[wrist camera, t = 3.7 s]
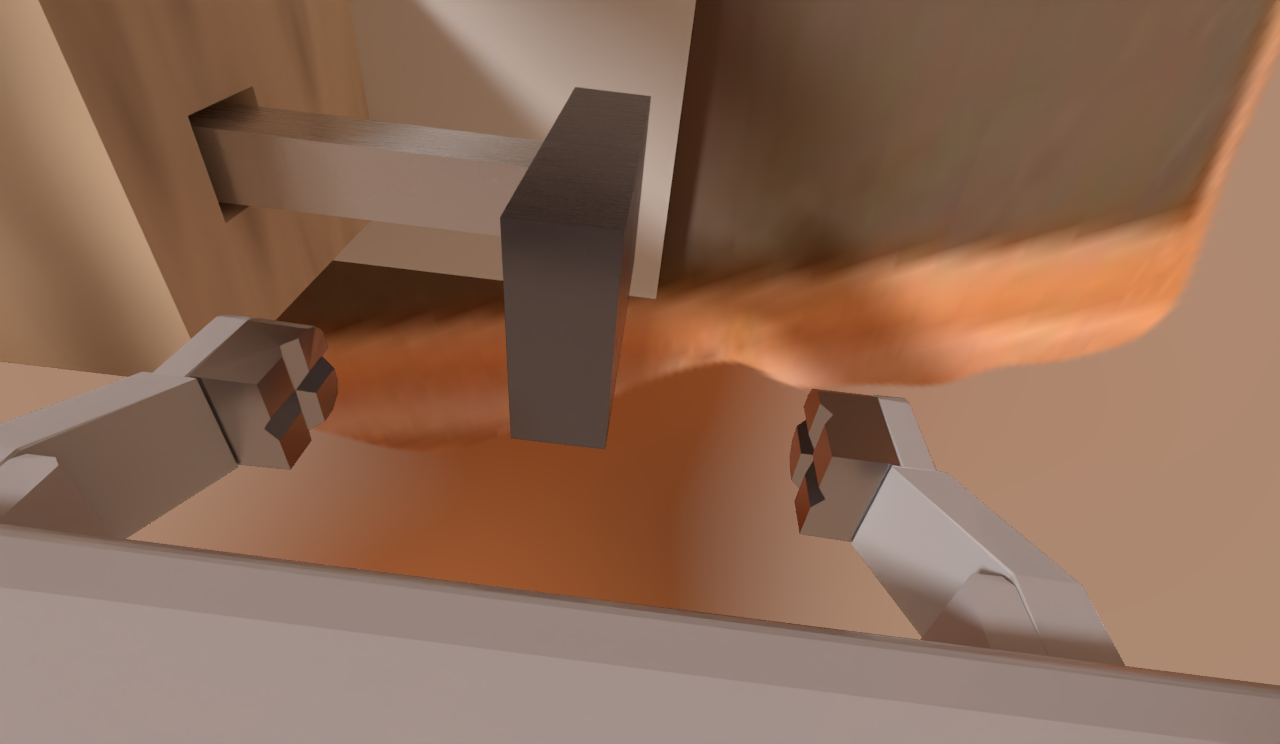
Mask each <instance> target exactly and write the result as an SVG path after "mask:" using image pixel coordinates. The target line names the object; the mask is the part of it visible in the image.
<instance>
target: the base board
mask: <svg viewBox="0 0 1280 744" xmlns="http://www.w3.org/2000/svg"><path fill="white" fill-rule="evenodd" d="M695 4H696V0H349V5H350V11H351V16H352V22H353V28H354V34H355V39H356V45H357V51H358V57H359V62H360V68H361V74H362V79H363V85H364V91H365V97H366V102H367V108H368V114H369V120H375V121H383V122H392V123H400V124H408V125H416V126H425V127H433V128H441V129H449V130H457V131H466V132H474V133H482V134H490V135H498V136H507V137H515V138H523V139H531V140H539V141H544V140H545V138H546V137H547V135H548V133H549V131H550V130H551V128H552V126H553V125H554V123H555V121H556V119H557V118H558V116H559V114H560V112H561V111H562V109H563V107H564V105H565V104H566V102H567V100H568V99H569V97H570V95H571V93H572V92H573V90H574V88H575V87H580V88H588V89H596V90H604V91H612V92H620V93H629V94H637V95H645V96H651V102H650V112H649V121H648V131H647V141H646V151H645V160H644V170H643V180H642V190H641V199H640V209H639V219H638V228H637V238H636V248H635V258H634V267H633V273H632V279H631V286H630V292H629V296H634V297H643V298H651V299H656V295H657V288H658V280H659V273H660V266H661V258H662V251H663V243H664V236H665V228H666V221H667V213H668V206H669V198H670V191H671V183H672V176H673V168H674V161H675V154H676V146H677V139H678V131H679V124H680V116H681V109H682V101H683V94H684V86H685V79H686V71H687V64H688V57H689V49H690V42H691V34H692V27H693V19H694V12H695ZM333 260H334V261H342V262H351V263H359V264H367V265H376V266H384V267H392V268H401V269H409V270H417V271H426V272H434V273H443V274H451V275H459V276H468V277H476V278H484V279H493V280H501V281H503V267H502V247H501V236H496V235H488V234H480V233H471V232H463V231H455V230H447V229H438V228H430V227H422V226H413V225H405V224H397V223H388V222H380V221H372V220H371V221H370V222H369V223H368V224H367V225H366V226H365V227H364V228H363V229H362V230H361V231H360V232H359V233H358V234H357V235H356V236H355V237H354V238H353V240H352V241H351V242H350V243H349V244H348V245H347V246H346V247H345V248H344V249H343V250H342V251H341V252H340V253H339V254H338V255H337V256H336V257H335V258H334V259H333Z"/></svg>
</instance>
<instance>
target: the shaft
mask: <svg viewBox="0 0 1280 744" xmlns="http://www.w3.org/2000/svg"><path fill="white" fill-rule="evenodd" d="M650 102H651V96H645V95H637V94H629V93H620V92H612V91H604V90H596V89H588V88H580V87H575V88H574V90H573V92H572V93H571V95H570V97H569V99H568V100H567V102H566V104H565V105H564V107H563V109H562V111H561V112H560V114H559V116H558V118H557V119H556V121H555V123H554V125H553V126H552V128H551V130H550V131H549V133H548V135H547V137H546V138H545V140H544V141H539V140H531V139H523V138H515V137H507V136H498V135H490V134H482V133H474V132H466V131H457V130H449V129H441V128H433V127H425V126H416V125H408V124H400V123H392V122H383V121H375V120H367V119H359V118H351V117H342V116H334V115H326V114H318V113H310V112H301V111H293V110H285V109H277V108H269V107H260V106H252V105H244V104H236V103H228V102H217V103H215V104H212V105H210V106H208V107H206V108H204V109H202V110H199V111H197V112H195V113H193V114H191V115H189V116H188V118H189V121H190V124H191V127H192V130H193V133H194V135H195V138H196V141H197V144H198V147H199V149H200V152H201V155H202V158H203V161H204V164H205V166H206V169H207V172H208V175H209V178H210V181H211V183H212V186H213V189H214V192H215V195H216V198H217V200H218V202H222V203H231V204H239V205H247V206H256V207H264V208H272V209H281V210H289V211H297V212H305V213H314V214H322V215H330V216H339V217H347V218H355V219H364V220H372V221H380V222H388V223H397V224H405V225H413V226H422V227H430V228H438V229H447V230H455V231H463V232H471V233H480V234H488V235H496V236H501V247H502V267H503V287H504V308H505V328H506V348H507V368H508V388H509V408H510V429H511V438H514V439H522V440H531V441H539V442H548V443H556V444H565V445H574V446H582V447H591V448H599V449H605V447H606V441H607V435H608V428H609V422H610V415H611V409H612V402H613V396H614V389H615V383H616V376H617V370H618V363H619V357H620V351H621V344H622V338H623V331H624V325H625V318H626V312H627V305H628V299H629V292H630V286H631V279H632V273H633V267H634V258H635V248H636V238H637V228H638V219H639V209H640V199H641V190H642V180H643V170H644V160H645V151H646V141H647V131H648V121H649V112H650Z"/></svg>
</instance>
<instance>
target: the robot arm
mask: <svg viewBox="0 0 1280 744" xmlns="http://www.w3.org/2000/svg"><path fill="white" fill-rule="evenodd" d="M327 349H328V345H327V342H326V339H325V336H324V333H323V331H322V330H320V329H319V328H317V327H315V326H310V325H303V324H296V323H289V322H282V321H276V320H269V319H262V318H252V317H246V316H238V315H231V314H225V315H220V316H217V317H216V318H214V319H213V320H212V321H211V322H210V323H209V324H208V325H206V326H205V327H204V328H203V329H202V330H201V331H200V332H198V333H197V334H196V335H195V336H194V337H193V338H192V339H190V340H189V341H188V342H187V343H186V344H185V345H184V346H182V347H181V348H180V349H179V350H178V351H177V352H176V353H174V354H173V355H172V356H171V357H170V358H169V359H168V360H166V361H165V362H164V363H163V364H162V365H161V366H160V367H158V368H157V369H156V370H155V371H154V372H153V373H151V372H140V373H137V374H135V375H132V376H129V377H126V378H124V379H121V380H119V381H116V382H113V383H110V384H107V385H104V386H102V387H99V388H97V389H94V390H91V391H88V392H85V393H83V394H80V395H77V396H75V397H72V398H69V399H66V400H63V401H61V402H58V403H55V404H53V405H50V406H47V407H44V408H42V409H39V410H36V411H33V412H31V413H28V414H25V415H23V416H20V417H17V418H14V419H11V420H9V421H6V422H3V423H0V744H1280V685H1279V686H1278V685H1271V684H1263V683H1255V682H1248V681H1240V680H1231V679H1223V678H1215V677H1207V676H1199V675H1192V674H1184V673H1176V672H1168V671H1160V670H1151V669H1143V668H1135V667H1129V666H1125V664H1124V662H1123V661H1122V659H1121V657H1120V655H1119V653H1118V651H1117V649H1116V648H1115V646H1114V644H1113V642H1112V640H1111V638H1110V636H1109V635H1108V633H1107V631H1106V629H1105V627H1104V626H1103V623H1102V622H1101V620H1100V618H1099V616H1098V614H1097V612H1096V610H1095V608H1094V607H1093V605H1092V603H1091V601H1090V599H1089V597H1088V595H1087V594H1086V592H1085V590H1084V588H1083V586H1082V585H1081V584H1080V583H1079V582H1077V581H1076V580H1075V579H1074V578H1073V577H1072V576H1070V575H1069V574H1068V573H1067V572H1066V571H1064V570H1063V569H1062V568H1061V567H1060V566H1058V565H1057V564H1056V563H1055V562H1054V561H1052V560H1051V559H1050V558H1049V557H1048V556H1046V555H1045V554H1044V553H1043V552H1042V551H1040V550H1039V549H1038V548H1037V547H1036V546H1034V545H1033V544H1032V543H1031V542H1029V541H1028V540H1027V539H1026V538H1025V537H1023V536H1022V535H1021V534H1020V533H1019V532H1018V531H1016V530H1015V529H1014V528H1013V527H1012V526H1010V525H1009V524H1008V523H1007V522H1006V521H1004V520H1003V519H1002V518H1001V517H1000V516H998V515H997V514H996V513H995V512H993V511H992V510H991V509H990V508H989V507H987V506H986V505H985V504H984V503H983V502H981V501H980V500H979V499H978V498H977V497H975V496H974V495H973V494H972V493H971V492H969V491H968V490H967V489H966V488H965V487H963V486H962V485H961V484H960V483H959V482H957V481H956V480H955V479H954V478H953V477H951V476H950V475H949V474H948V473H947V472H941V471H937V470H936V468H935V465H934V462H933V460H932V458H931V455H930V453H929V450H928V448H927V445H926V443H925V440H924V438H923V436H922V433H921V431H920V428H919V426H918V423H917V421H916V419H915V416H914V414H913V411H912V409H911V406H910V404H909V402H908V401H907V400H906V399H905V398H898V397H888V396H879V395H873V396H870V395H861V394H853V393H845V392H837V391H828V390H820V389H812V390H811V391H810V393H809V394H808V396H807V399H806V401H805V405H804V412H805V417H806V420H805V421H804V422H802V423H801V424H799V425H798V426H797V427H796V430H795V433H794V436H793V440H792V445H791V452H790V472H791V480H792V481H793V482H794V483H795V484H796V485H797V487H798V488H799V491H798V494H797V496H796V499H795V507H796V514H797V520H798V526H799V533H800V534H804V535H810V536H816V537H823V538H829V539H836V540H843V541H849V542H852V543H851V545H852V546H853V547H854V549H855V550H856V551H857V553H858V554H859V555H860V557H861V558H862V559H863V560H864V562H865V563H866V564H867V566H868V567H869V568H870V570H872V572H873V574H874V575H875V576H876V578H877V579H878V580H879V581H880V583H881V584H882V585H883V587H884V588H885V589H886V591H887V592H888V593H889V595H890V596H891V597H892V598H893V600H894V601H895V602H896V604H897V605H898V606H899V608H900V609H901V610H902V611H903V613H904V614H905V616H906V617H907V618H908V619H909V621H910V622H911V623H912V625H913V626H914V627H915V629H916V630H917V631H918V633H919V634H920V635H921V637H922V638H921V640H916V639H908V638H901V637H892V636H884V635H877V634H869V633H862V632H854V631H845V630H837V629H830V628H822V627H814V626H806V625H799V624H791V623H783V622H774V621H767V620H759V619H752V618H744V617H736V616H727V615H720V614H712V613H704V612H696V611H688V610H680V609H672V608H664V607H657V606H648V605H641V604H633V603H625V602H617V601H609V600H601V599H593V598H585V597H577V596H569V595H562V594H553V593H545V592H538V591H530V590H522V589H514V588H506V587H499V586H490V585H483V584H475V583H467V582H459V581H451V580H443V579H435V578H427V577H420V576H412V575H404V574H396V573H388V572H380V571H373V570H365V569H357V568H349V567H341V566H333V565H326V564H317V563H310V562H301V561H294V560H286V559H278V558H270V557H263V556H255V555H247V554H239V553H231V552H222V551H214V550H207V549H199V548H192V547H184V546H175V545H167V544H160V543H152V542H144V541H136V540H128V539H126V538H128V537H129V536H131V535H132V534H134V533H136V532H137V531H139V530H140V529H142V528H143V527H145V526H146V525H148V524H150V523H151V522H153V521H154V520H156V519H158V518H159V517H161V516H162V515H164V514H165V513H167V512H168V511H170V510H172V509H173V508H175V507H176V506H178V505H179V504H181V503H183V502H184V501H186V500H187V499H189V498H191V497H192V496H194V495H195V494H197V493H198V492H200V491H201V490H203V489H205V488H206V487H208V486H209V485H211V484H213V483H214V482H216V481H217V480H219V479H220V478H222V477H224V476H225V475H227V474H228V473H230V472H231V471H233V470H235V469H236V468H237V467H238V465H247V466H257V467H267V468H277V469H288V470H291V468H292V467H293V466H294V464H295V463H296V461H297V460H298V458H299V457H300V456H301V454H302V453H303V452H304V450H305V449H306V447H307V446H308V445H309V443H310V442H311V437H310V432H309V430H310V429H311V428H313V427H315V426H317V425H319V424H321V423H323V422H325V420H326V419H327V417H328V416H329V414H330V413H331V411H332V410H333V407H334V404H335V401H336V397H337V394H338V385H337V377H336V373H335V369H334V368H333V367H332V366H331V365H330V364H329V363H328V362H327V361H326V360H325V359H324V358H323V357H322V356H323V355H324V353H325V352H326V350H327Z"/></svg>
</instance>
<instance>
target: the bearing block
mask: <svg viewBox="0 0 1280 744" xmlns="http://www.w3.org/2000/svg"><path fill="white" fill-rule="evenodd" d="M217 102H228V103H236V104H244V105H252V106H260V107H269V108H277V109H285V110H293V111H301V112H310V113H318V114H326V115H334V116H342V117H351V118H359V119H367V120H369V114H368V108H367V102H366V97H365V91H364V85H363V79H362V74H361V68H360V62H359V57H358V51H357V45H356V39H355V34H354V28H353V22H352V16H351V11H350V5H349V0H0V362H8V363H18V364H25V365H34V366H42V367H51V368H59V369H69V370H77V371H85V372H93V373H102V374H110V375H118V376H127V377H129V376H132V375H135V374H137V373H140V372H151V373H153V372H154V371H155V370H156V369H157V368H158V367H160V366H161V365H162V364H163V363H164V362H165V361H166V360H168V359H169V358H170V357H171V356H172V355H173V354H174V353H176V352H177V351H178V350H179V349H180V348H181V347H182V346H184V345H185V344H186V343H187V342H188V341H189V340H190V339H192V338H193V337H194V336H195V335H196V334H197V333H198V332H200V331H201V330H202V329H203V328H204V327H205V326H206V325H208V324H209V323H210V322H211V321H212V320H213V319H214V318H216V317H217V316H220V315H225V314H231V315H238V316H246V317H252V318H262V319H269V320H276V319H277V318H278V317H279V316H280V315H281V314H282V313H283V312H284V311H285V310H286V309H287V308H288V307H289V306H290V304H291V303H292V302H293V301H294V300H295V299H296V298H297V297H298V296H299V295H300V294H301V293H302V292H303V291H304V290H305V289H306V288H307V287H308V286H309V285H310V284H311V282H312V281H313V280H314V279H315V278H316V277H317V276H318V275H319V274H320V273H321V272H322V271H323V270H324V269H325V268H326V267H327V266H328V265H329V264H330V263H331V262H332V260H333V259H334V258H335V257H336V256H337V255H338V254H339V253H340V252H341V251H342V250H343V249H344V248H345V247H346V246H347V245H348V244H349V243H350V242H351V241H352V240H353V238H354V237H355V236H356V235H357V234H358V233H359V232H360V231H361V230H362V229H363V228H364V227H365V226H366V225H367V224H368V223H369V222H370V221H371V220H364V219H355V218H347V217H339V216H330V215H322V214H314V213H305V212H297V211H289V210H281V209H272V208H264V207H256V206H247V205H239V204H231V203H222V202H218V200H217V198H216V195H215V192H214V189H213V186H212V183H211V181H210V178H209V175H208V172H207V169H206V166H205V164H204V161H203V158H202V155H201V152H200V149H199V147H198V144H197V141H196V138H195V135H194V133H193V130H192V127H191V124H190V121H189V118H188V116H189V115H191V114H193V113H195V112H197V111H199V110H202V109H204V108H206V107H208V106H210V105H212V104H215V103H217Z"/></svg>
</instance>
